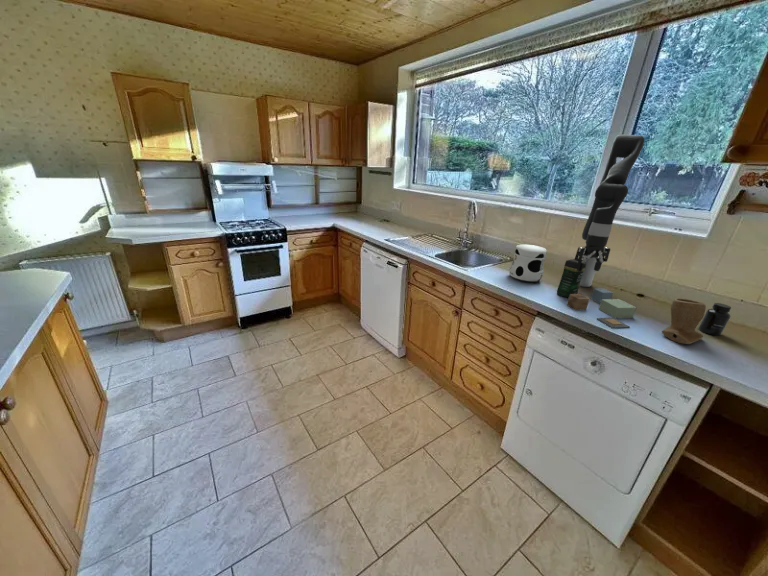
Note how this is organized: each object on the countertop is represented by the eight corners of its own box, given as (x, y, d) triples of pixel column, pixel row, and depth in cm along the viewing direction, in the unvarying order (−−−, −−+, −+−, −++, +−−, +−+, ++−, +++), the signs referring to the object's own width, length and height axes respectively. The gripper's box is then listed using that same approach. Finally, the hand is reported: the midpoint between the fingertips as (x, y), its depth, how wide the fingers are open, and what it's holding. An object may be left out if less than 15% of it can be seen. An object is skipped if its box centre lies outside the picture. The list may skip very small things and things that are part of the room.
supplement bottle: (713, 337, 125) (727, 309, 120) (693, 328, 131) (706, 302, 126) (725, 335, 127) (739, 308, 122) (705, 327, 133) (717, 300, 128)
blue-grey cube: (590, 298, 156) (594, 288, 154) (600, 298, 157) (603, 288, 155) (599, 303, 151) (603, 292, 149) (609, 303, 152) (613, 292, 150)
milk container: (503, 273, 187) (509, 243, 180) (533, 274, 187) (540, 244, 180) (513, 283, 171) (520, 251, 164) (546, 285, 171) (554, 253, 164)
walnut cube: (566, 305, 148) (569, 294, 146) (577, 304, 149) (580, 293, 146) (575, 310, 143) (578, 298, 141) (585, 309, 144) (589, 298, 141)
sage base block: (598, 309, 145) (601, 299, 143) (615, 308, 147) (619, 299, 145) (614, 318, 137) (618, 308, 135) (632, 317, 138) (636, 307, 136)
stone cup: (669, 326, 132) (683, 292, 126) (705, 340, 122) (723, 304, 117) (650, 333, 125) (664, 298, 120) (687, 348, 116) (704, 311, 110)
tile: (596, 319, 135) (597, 317, 134) (612, 318, 136) (613, 316, 136) (612, 328, 127) (613, 326, 127) (629, 327, 129) (630, 325, 128)
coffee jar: (569, 299, 154) (580, 262, 147) (553, 293, 160) (563, 258, 153) (579, 295, 159) (590, 260, 152) (563, 290, 165) (573, 255, 158)
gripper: (606, 232, 138) (595, 267, 144) (577, 231, 135) (567, 268, 141) (620, 236, 131) (608, 273, 137) (590, 235, 128) (579, 273, 134)
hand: (587, 270), depth 139 cm, fingers open, 8 cm apart
